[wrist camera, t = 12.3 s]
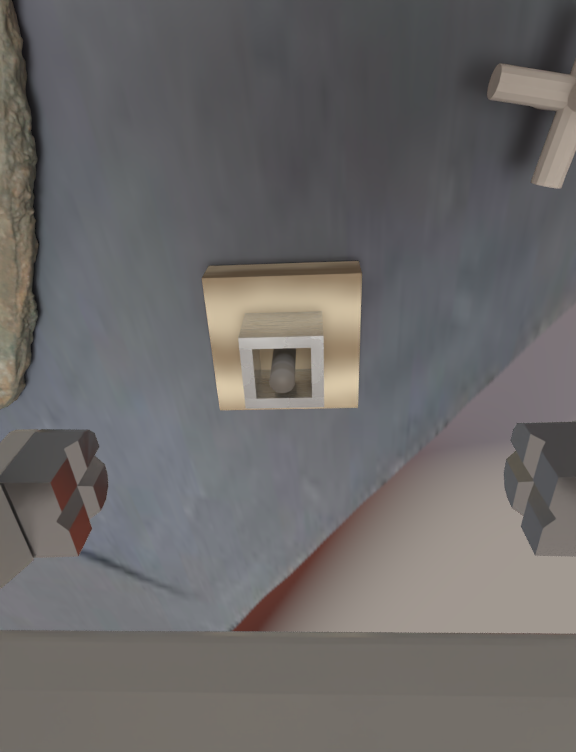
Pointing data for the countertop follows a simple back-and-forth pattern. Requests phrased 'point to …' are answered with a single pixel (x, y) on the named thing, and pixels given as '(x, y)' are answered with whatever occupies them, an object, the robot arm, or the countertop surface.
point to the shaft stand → (286, 294)
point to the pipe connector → (547, 92)
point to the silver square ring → (275, 335)
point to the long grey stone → (15, 212)
